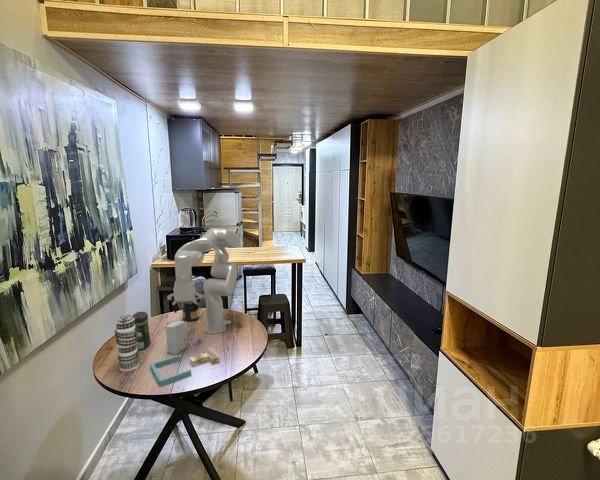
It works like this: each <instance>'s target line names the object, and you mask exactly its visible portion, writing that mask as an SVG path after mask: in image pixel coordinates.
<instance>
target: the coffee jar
mask: <svg viewBox="0 0 600 480" xmlns="http://www.w3.org/2000/svg"><path fill="white" fill-rule="evenodd" d="M131 316H132V317H134V318H135V320H134V324H135V326H137V327H136V328H135V330H137V332H136V333H137V336H135V337H137V343H136V347H137V350H138V351H141V350H144V349H147V348H148V347H149V345H150V343H151V338H150V329H149V315H148V312H146V311H137V312H136V313H134V314H132V315H131Z"/></svg>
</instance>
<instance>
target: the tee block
mask: <svg viewBox="0 0 600 480" xmlns="http://www.w3.org/2000/svg"><path fill="white" fill-rule="evenodd" d="M220 359H221V358H220V356H219V355H218V354H217V352H215V350H213V349H212V348H211V346H210V347H206V348H203V349H202V353H201V354H197V355H194V356H192V357H189V365H190V366H191V367H192V368H194V367H197V366H199V365H203V364H206V363H210V365H212V366H214V365H216V364H219V363H221V360H220Z"/></svg>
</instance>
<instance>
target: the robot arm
mask: <svg viewBox="0 0 600 480" xmlns="http://www.w3.org/2000/svg"><path fill="white" fill-rule="evenodd" d="M239 244H240V236H239V235H238V233H236V232H234V231H233V230H231V229H229V228H226V227H212V228H209V229H208V230H207V231H206V232H205V233H203V234H202V236H201V237H200V238H198V239H194V240H192V241H190V242H187V243H185V244H183V245H182V246H181V247H180V248H179V249H178V250H177V251H176V253H175V255H174V269H175V270H174V272H175V281H174V285H173V293H170V294H168V295H167V296H166V299H167V300H168V302H169V303H170V304H171V305H172V309H173V310H172V311H174V313H175V314H176V313H178V310H179V309H178V307H179V306H178V302H180V303H181V302H183V301H193V302H194V303H195V304H194V312H196V311H197V310H198V304H199V303H200V302H201V300H202V299H203V297H205V307H206V309H205V310H206V326H205V328H204V332H205V333H206V334H210V335H216V334H221V333H224V331H226V329H227V325H230V324H232V321H231V320H227V319H225V320H224V306H223V304H224V303H223V298H222V297H230V296H231V295H233V292H234V289H235V286H236V285H235V284H236V280H237V277H238V270H239V269H238V266H237V264H236V263H234V262H229V259H230V255H229V254H230V253H229V252H228V250H227V249H226V248H237V247H238V246H240V245H239ZM212 249H214V257H213V261H212V265H211V270H210V275H211V276H212V277H214V278H207V279H206V280H205V281H204V282H203V287H202V288H203V292H204V295H203V293H200V292H198V291H197V290H196V283H195V280H194V279H195V278H196V276H195V275H193V273H192V272H193V271H192V267H198V266H200V265H201V264H202V263H203V262H204V259H205V257H204V254H203V253H206V252H209V251H211V250H212ZM221 296H222V297H221ZM172 297H173V298H172ZM197 297H198V298H197Z"/></svg>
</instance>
